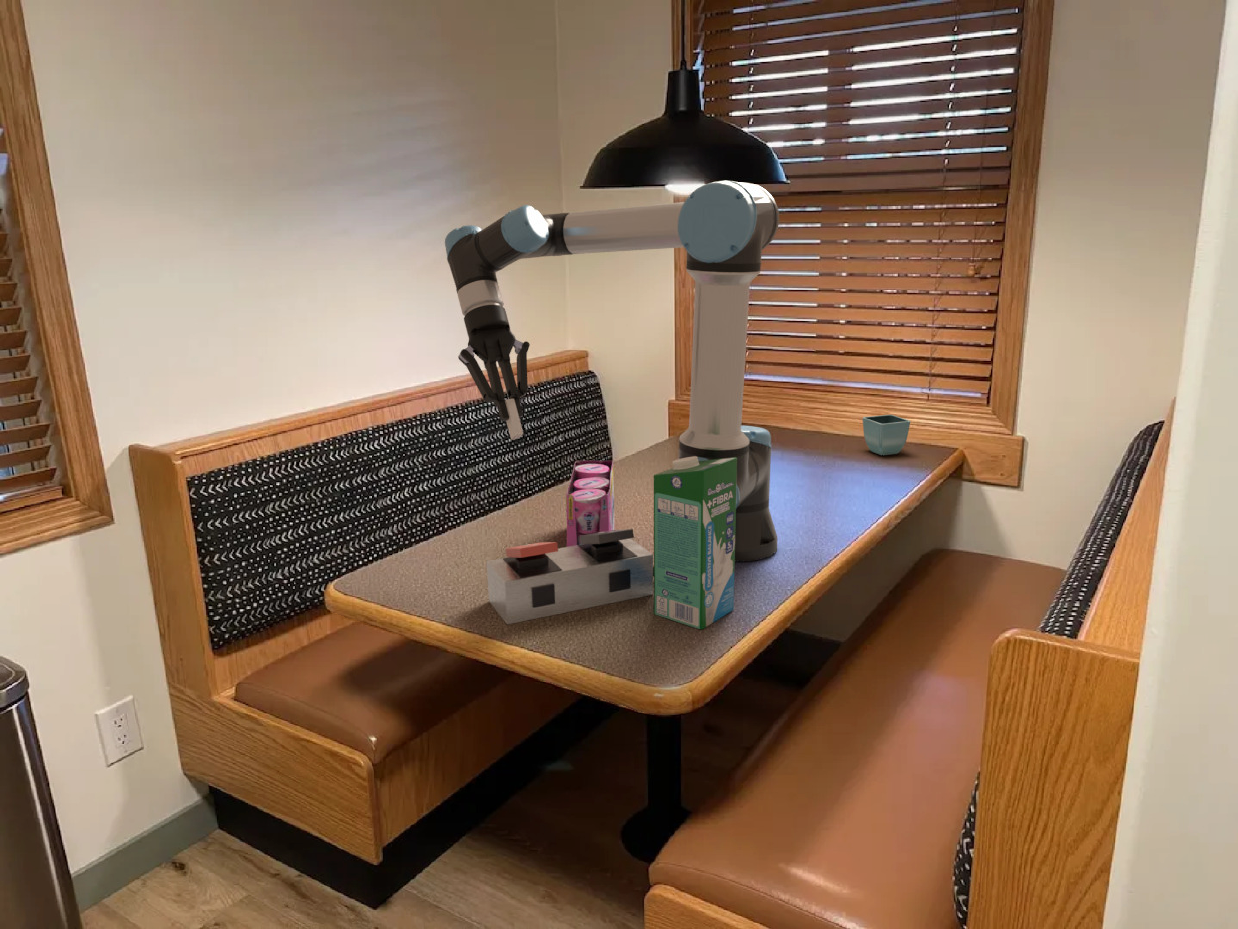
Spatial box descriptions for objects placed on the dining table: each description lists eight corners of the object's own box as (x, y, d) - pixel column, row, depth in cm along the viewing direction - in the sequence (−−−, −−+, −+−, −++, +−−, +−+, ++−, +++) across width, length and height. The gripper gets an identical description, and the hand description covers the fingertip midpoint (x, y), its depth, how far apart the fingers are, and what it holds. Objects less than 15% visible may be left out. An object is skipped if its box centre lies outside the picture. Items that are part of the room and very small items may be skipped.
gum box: (610, 570, 158) (609, 497, 154) (565, 570, 158) (563, 497, 154) (615, 525, 181) (614, 459, 177) (576, 525, 181) (574, 460, 177)
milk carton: (686, 595, 147) (688, 447, 140) (734, 610, 141) (737, 456, 134) (653, 614, 140) (652, 459, 133) (701, 630, 135) (703, 469, 128)
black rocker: (614, 538, 151) (613, 529, 151) (634, 537, 144) (632, 528, 144) (581, 544, 149) (580, 535, 149) (599, 543, 142) (598, 534, 142)
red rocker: (541, 550, 146) (540, 541, 146) (558, 551, 139) (556, 541, 139) (506, 557, 144) (505, 547, 144) (521, 557, 136) (519, 548, 137)
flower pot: (859, 450, 234) (861, 416, 231) (888, 447, 236) (891, 413, 234) (878, 458, 225) (880, 423, 223) (908, 455, 228) (911, 421, 226)
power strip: (664, 567, 159) (664, 523, 156) (691, 587, 150) (691, 541, 148) (488, 601, 146) (486, 554, 143) (507, 625, 137) (505, 575, 135)
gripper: (512, 316, 166) (545, 437, 161) (444, 324, 160) (476, 449, 156) (523, 298, 159) (558, 423, 155) (452, 306, 153) (486, 436, 149)
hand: (517, 436), depth 155 cm, fingers closed
